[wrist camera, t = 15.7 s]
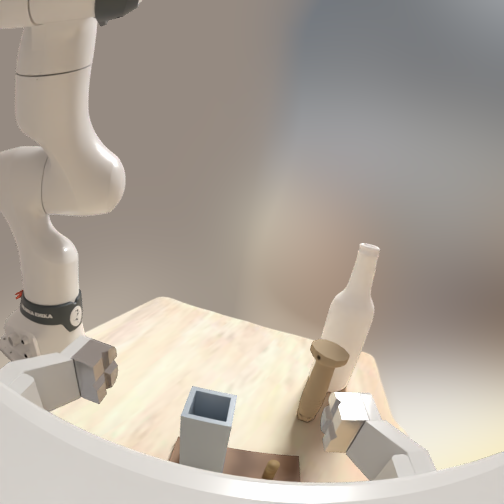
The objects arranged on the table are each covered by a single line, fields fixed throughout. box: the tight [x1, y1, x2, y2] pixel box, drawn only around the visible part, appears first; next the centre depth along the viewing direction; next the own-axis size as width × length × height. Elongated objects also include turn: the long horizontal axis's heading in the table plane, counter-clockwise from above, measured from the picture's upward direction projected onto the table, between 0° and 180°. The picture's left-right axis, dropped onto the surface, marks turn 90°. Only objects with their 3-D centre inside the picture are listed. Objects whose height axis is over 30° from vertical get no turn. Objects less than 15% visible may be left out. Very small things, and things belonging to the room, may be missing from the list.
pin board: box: [170, 437, 300, 482], centre depth 31 cm, size 18×9×4 cm, turn 86°
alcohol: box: [309, 243, 380, 392], centre depth 54 cm, size 9×9×30 cm
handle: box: [297, 339, 350, 422], centre depth 44 cm, size 5×6×15 cm
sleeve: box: [179, 386, 237, 473], centre depth 30 cm, size 6×6×13 cm
